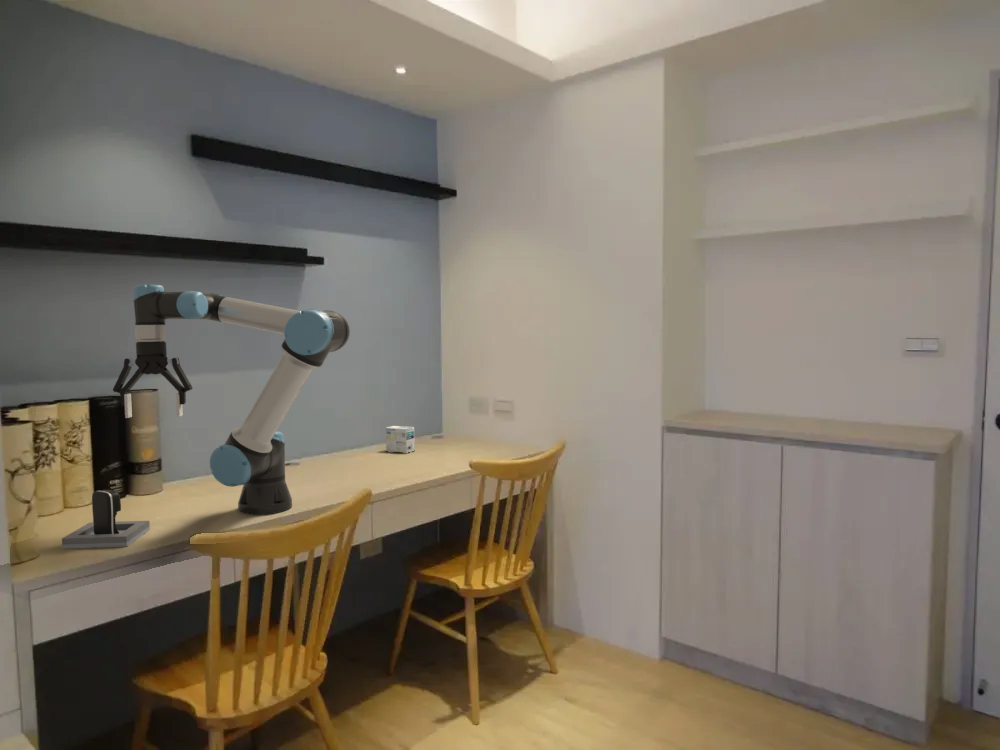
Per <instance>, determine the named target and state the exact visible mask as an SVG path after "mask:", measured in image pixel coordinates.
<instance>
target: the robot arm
mask: <svg viewBox="0 0 1000 750" xmlns="http://www.w3.org/2000/svg"><path fill="white" fill-rule="evenodd" d="M132 302H133V307H134V321H135V322H134V329H135V333H134V335H135V339H136V340H137V341H136V342H135V349H136V353H135V355H136V358H134V359H132V358H129V357H128V358H125V359H124V361H123V367H122V369H121V372H120V374H119V376H118V377H117V380H116V382H115V384H114V385H113V388H112V391H113V392H114V393H118V394H119V395H120V404H121V407H122V406H124V416H125V417H124V418H125V419H129V418H132V417H133V413H132V412H133V409H132V408H133V407H132V404H133V403H132V393H129V392H130V390H131V389H132V388H133V387H134V386H135V384H136V383H137V382H138V381H139V380H140V378H142V376H143V375H160V374H161V376H163V377H164V378H165V379H166V380H167V382H168V383H169V384H170V385H171V386H172V387H173V388H174V389H175V390H176V391H177V392H176V393H175V402H176V403H175V405H176V408H175V409H176V410H175V411H176V417H177V418H179V417H182V416H183V415H184V413H183V407H184V406H183V405H185V404H186V403H187V401H186V400H187V399H186V396H187V395H186V393H187V392H189V391H191V390H192V389H193V386H192V384H191V382H190V380H189V379H188V377H187V375H186V374H185V372H184V370H183V369H182V366H181V364H180V359H179V357H172V358H168V357H167V342H166V341H165V340H166V337H167V334H166V320H209V321H215V322H219V323H226V324H231V325H236V326H240V327H244V328H248V329H249V328H250V329H255V330H260V331H265V332H269V333H275V334H278V335H283V336H284V340H283V342H282V343H281V346H280V347H281V349H282V350H281V351H282V353H283V354H282V355H281V358H280V359H279V361H278V362H277V365H275V367H274V370H273V371H272V373H271V375H270V376H269V378H268V380H267V381H266V383H265V385H264V386H263V388H262V390H261V392H259V393H260V394H259V396H258V397H257V399H256V400H255V403H254V404H253V406H252V407H251V409H250V411H249V412H248V414H247V416H246V417H245V419H244V420H243V423H242V425H241V426H238V427H235V428H232V431H231V432H230V434H229V435H228V437H227V439H226V441H225V442H224V444H221V445H219V446H218V447H216V448H215V449H214V450H213V451H212V453H211V455H210V457H209V469H210V470H211V474H212V476H213V477H214V479H215V480H216V481H218V482H219V483H220V484H221V485H223V486H225V487H234V488H235V487H238V486H242V489H241V492H240V496H239V498H238V502H237V509H238V510H237V511H238V512H239V513H241V514H246V515H255V516H256V515H269V514H276V513H281V512H284V511H287V510H289V509H292V506H293V499H292V498H293V497H292V495H291V492H290V490H289V488H288V485H287V482H286V455H285V453H286V451H285V450H286V449H285V446H286V443H285V436H284V433H283V432H281V431H277V430H278V429H279V427H280V426H281V423H283V420H284V419H285V417H286V415H287V414H288V413H289V410H290V408H291V407H292V405H293V403H294V401H295V400H296V398H297V397H298V395H299V393H300V391H301V390H302V388H303V386H304V384H305V383H306V381H307V380H308V378H309V376H310V374H311V372H312V371H313V370H315V369H319V368H321V367H322V365H323V364H324V362H325V360H326V358H327V357H328V355H329V353H334V352H336V351H339V350H340V349H342V348H344V346H345V345H346V344H347V343H348V340H349V338H350V333H351V332H350V331H351V330H350V325H349V323H348V321H347V320H346V318H345V317H344V316H343V315H342V314H341V313H339V312H337V311H334V310H323V309H317V308H316V309H315V308H308V309H303V310H297V309H292V308H287V307H286V308H285V307H281V306H275V305H272V304H271V305H270V304H266V303H259V302H255V301H251V300H250V301H249V300H245V299H239V298H234V297H229V296H224V295H221V294H218V293H211V292H210V293H204V292H203V293H202V292H201V291H195V290H184V291H165V288H164V286H163V285H162V284H137V285H135V286H134V288H133V300H132ZM169 364H170V365H169ZM135 365H136V366H137V370H135V372H134V373H133V375H132V376H131V377H130V378H129V380H128V381H127V379H128V376H129V374H130V372H131V370H132V367H134V366H135ZM168 365H169V366H171V367H172V368H173V370H174V372H175V374H176V375H177V378H178V379H179V380H178V379H177V378H176V377H175V376H174V375H173V374H172V373H171V371H170V370H169V369H168V368H167V366H168ZM126 381H127V382H126ZM179 381H180V382H179Z"/></svg>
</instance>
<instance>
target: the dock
mask: <svg viewBox="0 0 1000 750" xmlns="http://www.w3.org/2000/svg"><path fill="white" fill-rule="evenodd" d="M115 525H116V529H117V531H118V532H119V534H99V535H96V534H94V523H93V521H91V522H87V523H86V524H85V525H83V526H81V527H80V528H77V529H75V530H74V531H72V532H70V533H69V534H67V535H65V536H64V537H62V538H61V549H62V550H65V549H66V550H67V549H91V548H92V549H93V547H97V548H122V547H128V546H130V545H131V544H132V543H134V542H135V541H136V540H138V539H140V538H141V537H142V536H144V535H145V534H146V533H148V532H149V531H151V528H150V520H128V521H127V520H125V521H123V520H122V521H115Z"/></svg>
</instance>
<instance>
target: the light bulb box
mask: <svg viewBox="0 0 1000 750" xmlns="http://www.w3.org/2000/svg"><path fill="white" fill-rule="evenodd" d="M385 441H386V442H385V448H386V449H385V452H386V451H388V452H387V453H393V452H403V453H402V454H405V453H407V454H409V453H408V452H410V453H412V452H411V451H414V450H415V445H416V444H415V427H414V426H406V425H404V426H402V425H391V426H386V427H385ZM415 451H416V450H415ZM415 451H414V452H415Z"/></svg>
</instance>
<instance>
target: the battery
mask: <svg viewBox="0 0 1000 750" xmlns="http://www.w3.org/2000/svg"><path fill="white" fill-rule="evenodd" d="M91 503H92V504H91V505H92V519H93V520H92V522H93V523H94V534H96V535H99V534H119V532H118V531H117V529H116V525H115V522H116V517H117V515H118V512H121V511H122V503H121V495H120V493H119V492H118V491H115V490H111V489H102V490H96V491H94V492H92V495H91Z"/></svg>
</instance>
